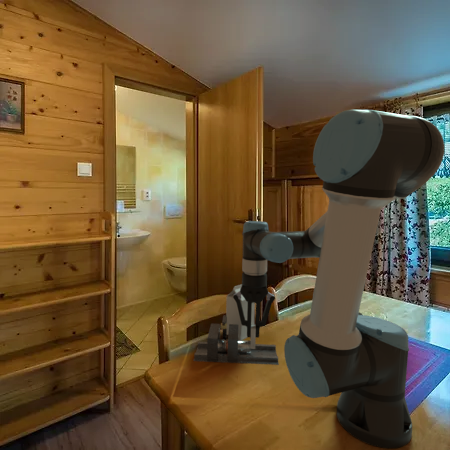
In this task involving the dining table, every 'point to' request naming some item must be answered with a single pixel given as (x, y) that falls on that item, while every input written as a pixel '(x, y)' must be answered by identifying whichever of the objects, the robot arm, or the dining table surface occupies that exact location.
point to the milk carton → (234, 313)
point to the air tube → (242, 346)
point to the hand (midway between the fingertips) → (252, 346)
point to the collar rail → (233, 348)
